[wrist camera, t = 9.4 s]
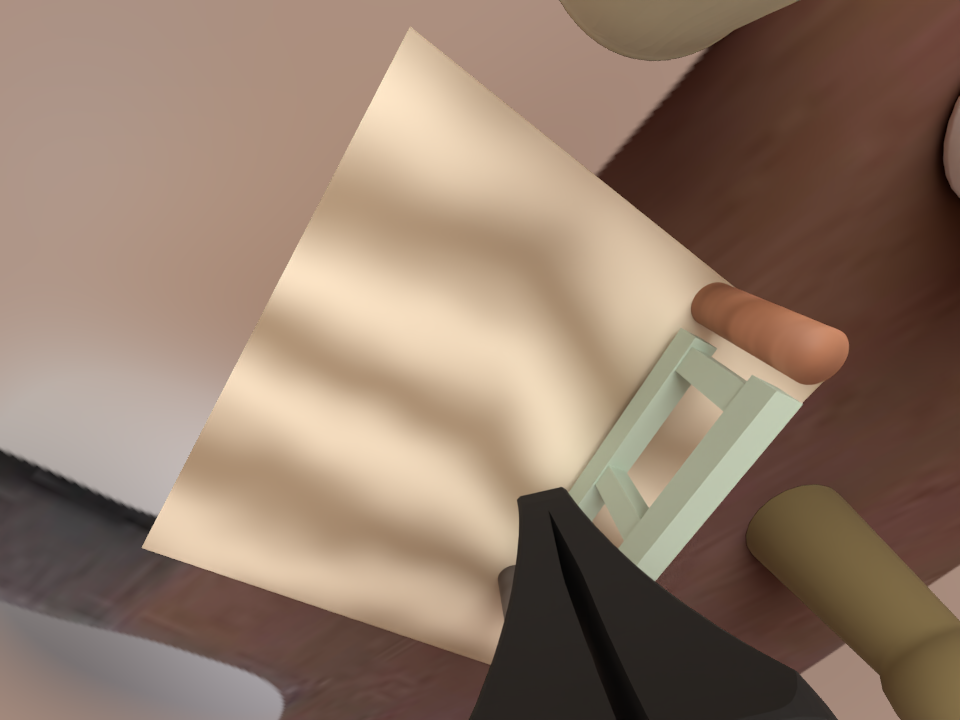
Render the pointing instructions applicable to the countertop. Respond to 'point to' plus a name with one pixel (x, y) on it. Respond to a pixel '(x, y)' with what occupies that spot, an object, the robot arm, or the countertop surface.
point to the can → (664, 23)
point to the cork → (863, 597)
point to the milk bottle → (953, 149)
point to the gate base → (453, 367)
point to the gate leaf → (707, 471)
